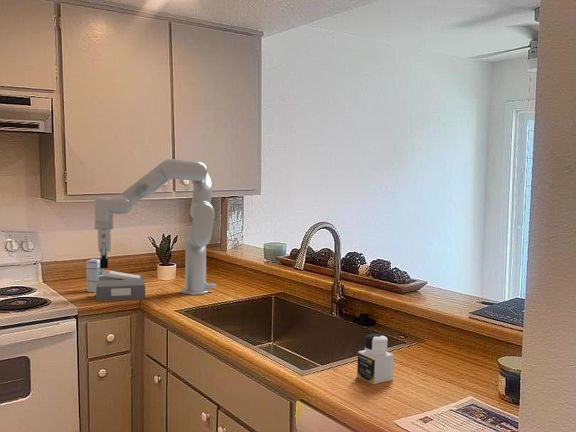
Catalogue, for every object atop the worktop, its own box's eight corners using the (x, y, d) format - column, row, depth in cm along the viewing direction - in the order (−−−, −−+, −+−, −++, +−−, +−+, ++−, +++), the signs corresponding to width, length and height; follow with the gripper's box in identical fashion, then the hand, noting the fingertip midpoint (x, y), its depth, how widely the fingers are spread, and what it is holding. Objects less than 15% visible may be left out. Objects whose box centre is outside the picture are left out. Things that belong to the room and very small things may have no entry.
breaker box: (143, 292, 248) (143, 274, 247) (145, 298, 236) (145, 279, 236) (97, 294, 242) (97, 276, 241) (96, 301, 230) (96, 281, 230)
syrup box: (98, 292, 247) (98, 260, 246) (86, 291, 248) (86, 260, 247) (104, 289, 252) (104, 259, 251) (93, 289, 253) (93, 258, 252)
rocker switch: (139, 278, 244) (139, 275, 244) (139, 281, 238) (140, 278, 238) (102, 272, 239) (103, 269, 239) (101, 275, 233) (102, 271, 233)
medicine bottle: (356, 376, 151) (357, 333, 150) (376, 371, 154) (377, 330, 153) (373, 385, 145) (375, 340, 144) (393, 380, 148) (395, 337, 147)
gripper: (112, 227, 229) (112, 270, 230) (113, 224, 243) (113, 264, 244) (94, 227, 226) (94, 271, 228) (95, 224, 241) (95, 265, 242)
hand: (103, 267), depth 236 cm, fingers closed
